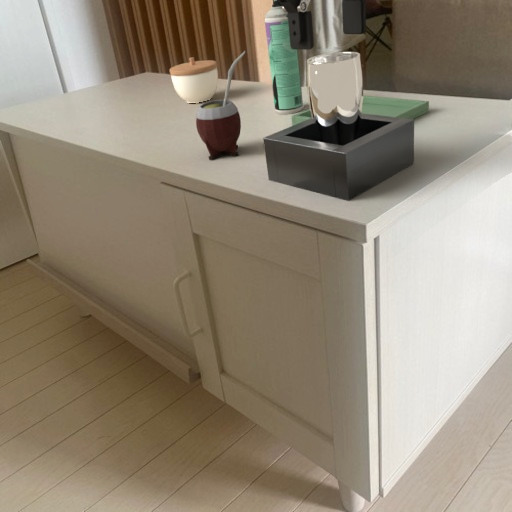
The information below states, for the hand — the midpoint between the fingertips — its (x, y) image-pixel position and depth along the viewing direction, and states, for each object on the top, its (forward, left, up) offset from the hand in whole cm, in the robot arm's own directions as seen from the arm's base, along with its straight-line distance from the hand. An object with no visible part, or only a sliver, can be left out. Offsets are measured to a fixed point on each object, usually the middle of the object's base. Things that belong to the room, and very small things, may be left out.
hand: (329, 40), depth 65 cm
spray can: (+30, -21, -17) cm, 40 cm away
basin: (0, 0, -17) cm, 17 cm away
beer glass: (0, 0, -17) cm, 17 cm away
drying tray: (+13, -21, -17) cm, 30 cm away
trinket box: (+58, -20, -17) cm, 64 cm away
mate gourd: (+22, +2, -17) cm, 28 cm away
